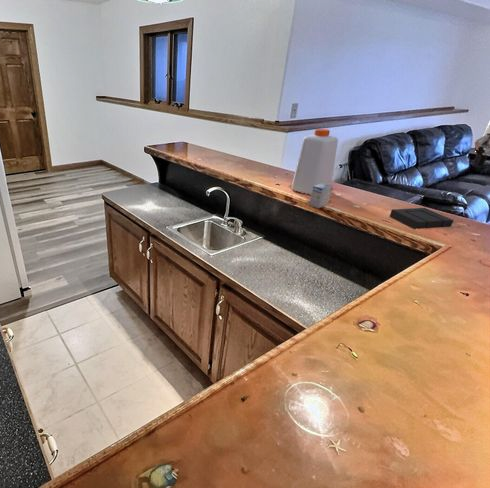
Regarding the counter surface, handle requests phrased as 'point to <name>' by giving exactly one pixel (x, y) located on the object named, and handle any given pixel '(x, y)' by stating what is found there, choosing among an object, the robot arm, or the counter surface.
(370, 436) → the counter surface
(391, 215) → the base pad
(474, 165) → the robot arm
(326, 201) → the medicine box
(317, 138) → the plastic bottle
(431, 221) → the black pad
